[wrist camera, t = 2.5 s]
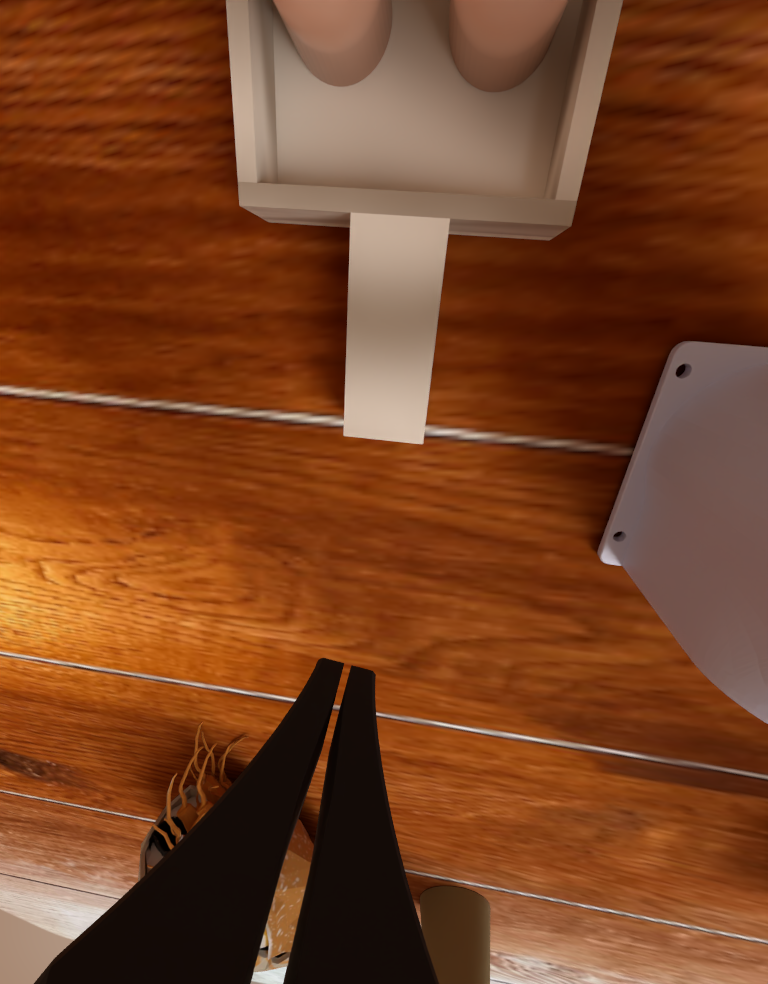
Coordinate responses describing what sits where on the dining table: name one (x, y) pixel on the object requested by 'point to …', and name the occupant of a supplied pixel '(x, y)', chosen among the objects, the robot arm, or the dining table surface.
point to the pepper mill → (457, 934)
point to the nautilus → (185, 816)
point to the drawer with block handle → (410, 172)
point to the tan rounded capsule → (501, 39)
